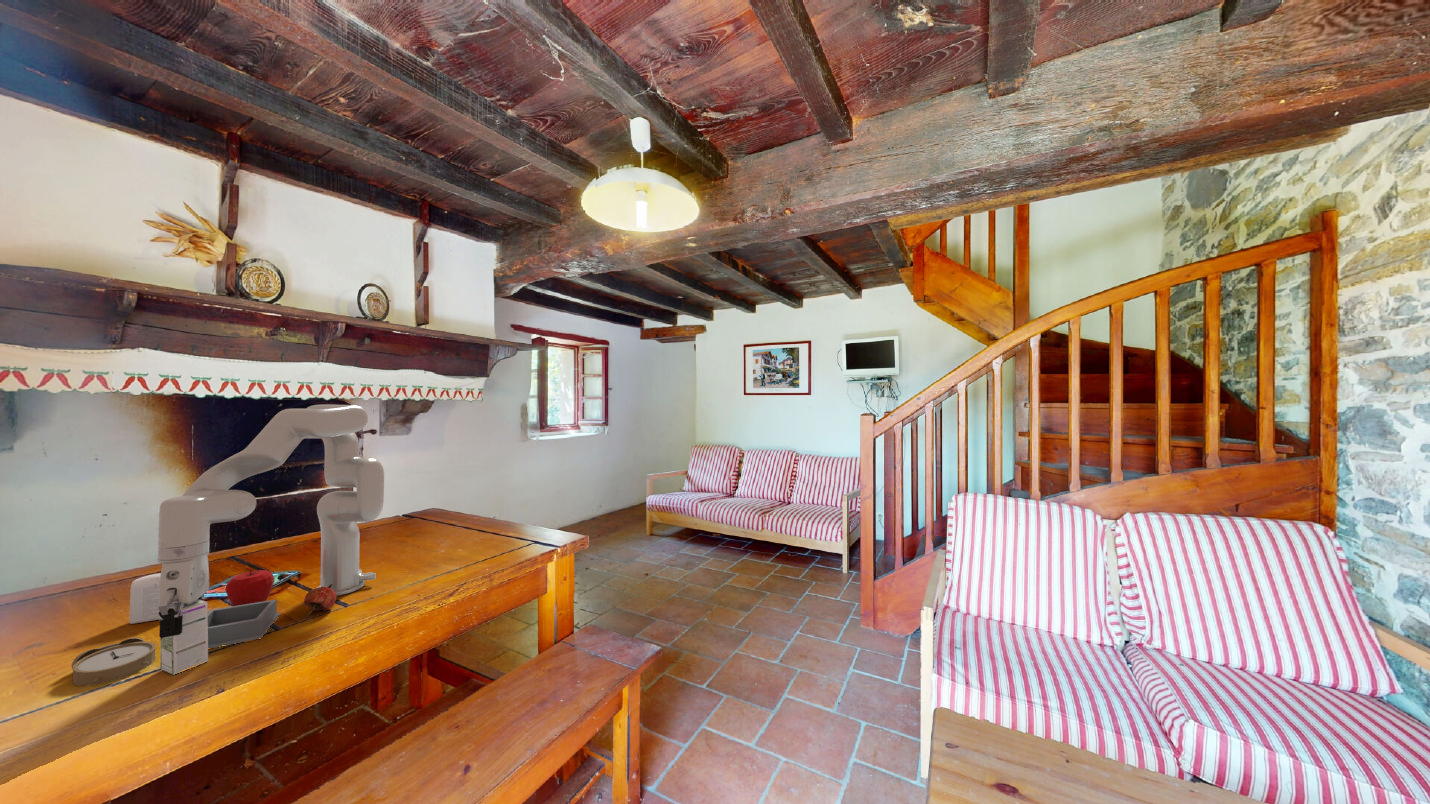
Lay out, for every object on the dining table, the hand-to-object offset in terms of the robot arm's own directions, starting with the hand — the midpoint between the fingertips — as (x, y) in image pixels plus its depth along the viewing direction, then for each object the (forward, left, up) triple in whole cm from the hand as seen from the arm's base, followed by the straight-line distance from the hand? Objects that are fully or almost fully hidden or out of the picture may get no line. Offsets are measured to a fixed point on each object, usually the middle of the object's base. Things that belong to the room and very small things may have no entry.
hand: (182, 626), depth 102 cm
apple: (-2, -32, -10) cm, 34 cm away
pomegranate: (-20, -19, -10) cm, 30 cm away
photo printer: (+17, -35, -10) cm, 40 cm away
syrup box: (0, 0, -10) cm, 10 cm away
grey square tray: (-4, -14, -10) cm, 18 cm away
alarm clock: (+13, -7, -10) cm, 18 cm away
